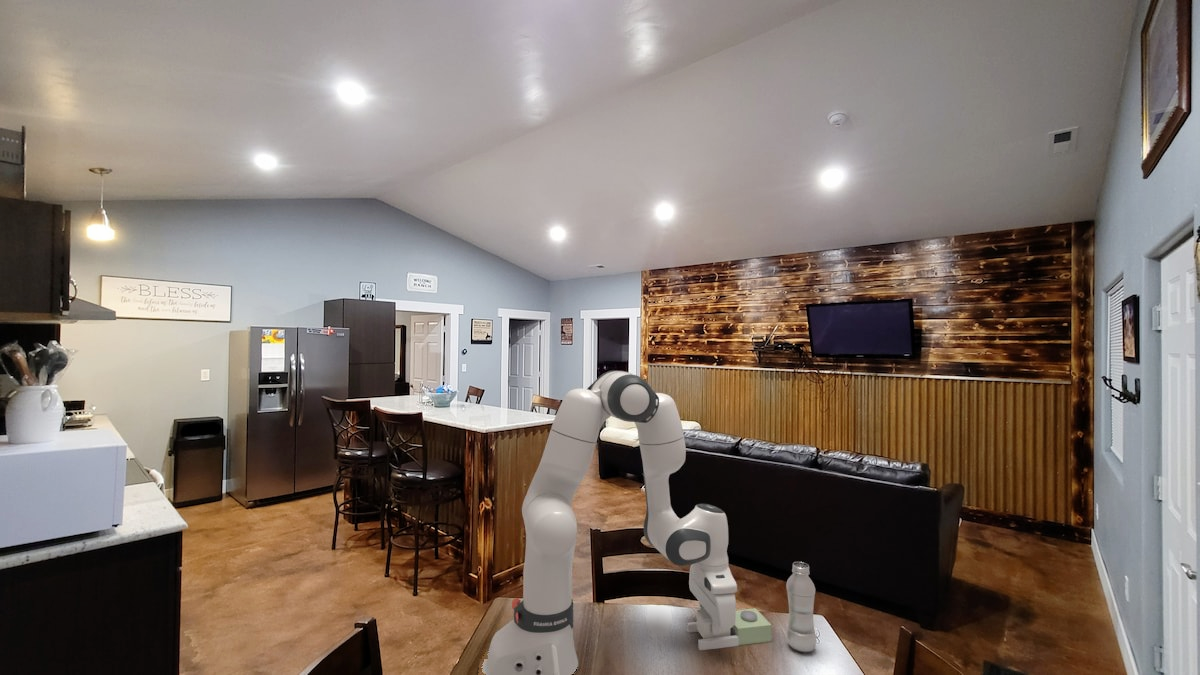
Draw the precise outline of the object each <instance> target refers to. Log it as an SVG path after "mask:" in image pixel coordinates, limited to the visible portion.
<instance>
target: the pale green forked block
mask: <svg viewBox="0 0 1200 675" xmlns="http://www.w3.org/2000/svg"><path fill="white" fill-rule="evenodd" d="M772 628H773V625H772V624H771V622H769V621H768V619H766V617H765V616H764V615H763V614H762V613H761V612H760V611H759V610H758V609H757V608H755V607H754V608H746V609H736V618H735V624H734V626H733V627H732V628H730V636H726V637H717V638H708V639H703V638H701V639H700V638H699V639H698V640H697V641H698V645H697V649H698V650H699V651H706V650H716V649H723V648H731V647H738V646H743V645H744V646H745V645H749V644H750V645H751V644H760V643H769V642H772V639H773V637H772V636H773V635H772V634H773V633H772V631H773V630H772ZM686 632H687V633H688V634H690V633H699V632H698V630H697V621H690V622H686Z"/></svg>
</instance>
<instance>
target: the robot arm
mask: <svg viewBox="0 0 1200 675" xmlns="http://www.w3.org/2000/svg"><path fill="white" fill-rule="evenodd" d="M611 417H613V418H616V419H617V420H621V421H623V422H629V423H634V425H635V427H636V429H637V436H638V437H637V438H638V443H639V449H640V455H641V460H642V467H643V468H642V470H643V484H644V492H645V493H644V494H645V503H646V509H645V510H646V511H645V512H646V513H645V518H644V523H643V534H644V537H645V538H644V539H645V541H646V542H647V543H648V544H649V545H650V546H652V547H653V548H654V549H656V550H657V551H658V552H659V553H660V554H661V555H662V556H663V557H665V558H666V559H667V560H668V561H669V562H670V563H671V564H673V565H675V566H678V567H686V566H690V567H689V577H688V578H689V580H688V585H689V591H690V592H691V593H692V594H693V596H694V597H695V599H697V601H698V607H699V610H701V609H704V610H705V611H706V612H708V614H709V615H710V616H711V617H712V621H713V623H712V624H711V625H710V628H711V629H710V630H711V632H712V633H713V635H718V634H719V633H720V628H721V629H725V628H732V627H733V626H734V624H735V618H736V610H737V601H736V595H735V593H737V592H738V584H737V582H736V580H735V578H734V576H733V574H732V571H731V569H730V566H729V556H728V552H727V551H728V545H729V525H728V517H727V515H726V513H725V511H724V510H722V509H721V508H719V507H717V506H715V505H712V504H709V503H698V504H696V505H695V506H694V508H693V509H692V510H691V511H690V512H689V513H688V514H686V515H685V516H683V517H682V518H680V517H678V516H677V514H676V513H675V511H674V509H673V507H672V504H671V496H670V484H669V478H670V475H672V474H674V473H676V472H677V471H679V470H680V469H681V467H682V466H683V465H684V464H685V462H686V455H687V454H686V453H687V452H686V450H687V448H686V441H685V434H684V429H683V424H682V420H681V417H680V414H679V410H678V407H677V404H676V402H675V400H674V398H672V396H670V395H669V394H666V393H663V392H655V391H654V390H653V388H652V386H651V385H650V384H649V383H648V382H647V381H646V380H645V379H644V378H643V377H641V376H639V375H636V374H633V373H631V372H629V371H624V370H608V371H606V372H603V373H602V374H601V375H599V376H598V377H597V378H596V379H595V380H594V381H593V382H592V383H591V384H590V385H589V386H588V387H587V388H582V387H581V388H574V389H571V390H569V391H568V392H567V393H566V394H565V395H564V398H563V400H562V401H561V403H560V405H559V407H558V410H557V412H556V414H555V417H554V419H553V422H552V425H551V428H550V431H549V434H548V437H547V440H546V443H545V447H544V450H543V453H542V455H541V456H542V457H541V459H540V462H539V464H538V467H537V469H536V471H535V473H534V475H533V477H532V480H531V482H530V484H529V486H528V488H527V492H526V495H525V497H524V499H523V501H522V506H521V512H522V513H521V515H522V519H523V524H524V527H525V528H524V529H525V553H524V554H525V555H524V565H523V574H522V575H523V576H522V577H523V578H522V579H523V588H522V589H523V591H522V593H523V594H522V595H523V596H522V600H521V599H520V598H518V597H515V598H512V601H511V607H512V608H511V609H512V610H513V619H511V620H510V621H509V622H508V623H507V624H505V625H504V626H503V627H501V628H500V629H499V630H498V631H496V632H495V634H494V635H493V637H492V639H491V642H490V645H489V649H488V650H489V651H488V652H489V653H488V654H487V655H488V659H484V662H483V664H482V665H483V666H482V667H481V668H483V669H482V672H483V673H484V674H486V675H571V674H573V673H574V672H575V671H576V669H577V670H578V668H579V658H578V655H577V653H576V652H577V651H576V648H575V642H574V640H575V639H574V631H573V628H574V622H575V605H574V604H575V603H574V600H573V597H572V594H573V593H572V592H573V587H572V586H573V564H574V563H573V562H574V556H575V548H576V541H577V538H578V522H577V516H576V514H575V512H574V511H573V508H572V502H573V499H574V497H575V494H576V492H577V491H578V488H579V486H580V484H581V483H582V481H583V480H584V479H585V477H586V476H587V474H588V470H589V468H590V465H591V461H592V458H593V454H594V452H595V448H596V446H597V441H598V437H599V434H600V430H601V429H602V426H603V425H604V423H605V421H607V420H608V419H609V418H611ZM577 667H578V668H577ZM576 672H577V671H576ZM576 672H575V673H576ZM575 673H574V674H575Z"/></svg>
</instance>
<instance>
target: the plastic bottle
mask: <svg viewBox="0 0 1200 675" xmlns="http://www.w3.org/2000/svg"><path fill="white" fill-rule="evenodd" d="M809 565H810V564H808V563H806V562H802V561H794V562H793V563H792V567H791V568H792V569H791V573H792V574H791V575H790V576H789V577H788V579H787V581H786V584H785V585H786V586H785V587H786V594H787V599H788V621H787V622H788V623H787V627H786V640H787V643H788V644H789V646H790V647H791V648H792V649H793V650H795V651H797V652H800V653H811V652H813V651H814V650H815V649H816V645H817V635H816V630H815V624H814V605H815V604H814V603H815V597H816V596H815V595H816V587H815V584H814V582H813V580H812V579H811V578H810V576H809V575H810V566H809Z"/></svg>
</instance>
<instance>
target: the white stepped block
mask: <svg viewBox="0 0 1200 675" xmlns="http://www.w3.org/2000/svg"><path fill="white" fill-rule="evenodd" d="M696 622H697V630H698V632H697V633H699V634H700V636H701V637H702V639H708V638H717V637H726V636H730V628H725V629H721V628H720V633H719V634H718V635H713V633H712V632H711V630H710V629H711V628H710V625H711V624H712V623H713V621H712V617H711V616H710V615H709V614H708V612H706V611H705V610H704V609H701V610H700V609H696Z"/></svg>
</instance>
